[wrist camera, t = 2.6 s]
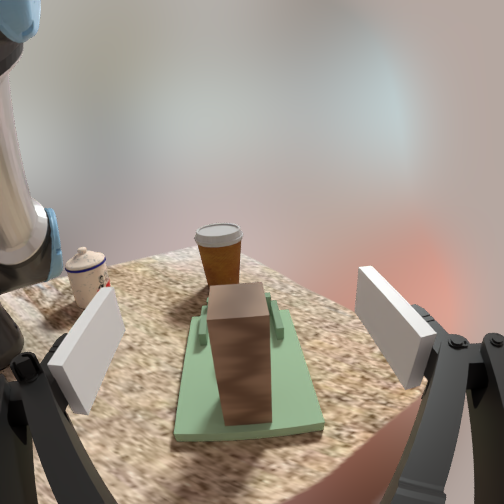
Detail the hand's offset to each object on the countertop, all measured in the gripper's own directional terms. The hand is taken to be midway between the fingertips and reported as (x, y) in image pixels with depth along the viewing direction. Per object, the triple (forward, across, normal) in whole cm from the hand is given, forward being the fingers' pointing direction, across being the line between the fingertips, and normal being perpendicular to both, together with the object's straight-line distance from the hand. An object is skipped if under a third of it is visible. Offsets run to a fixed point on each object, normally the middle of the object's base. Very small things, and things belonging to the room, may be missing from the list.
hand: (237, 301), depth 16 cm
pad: (+18, 0, -21) cm, 28 cm away
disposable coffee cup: (+44, -3, -21) cm, 49 cm away
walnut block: (+10, 0, -19) cm, 22 cm away
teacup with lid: (+42, -31, -21) cm, 56 cm away
